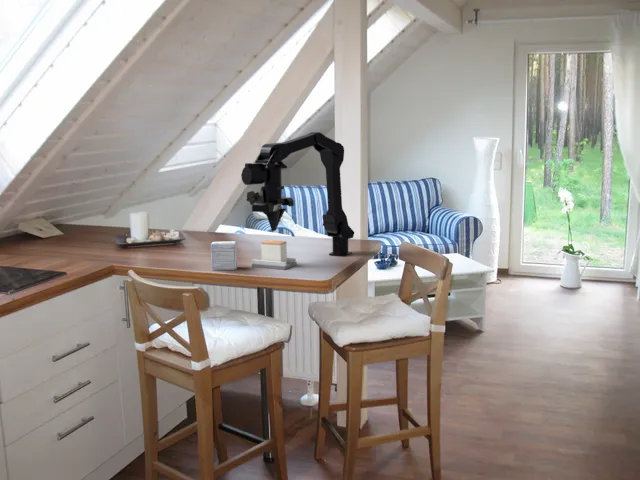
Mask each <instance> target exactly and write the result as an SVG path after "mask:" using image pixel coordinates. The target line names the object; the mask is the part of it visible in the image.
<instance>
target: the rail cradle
mask: <svg viewBox="0 0 640 480" xmlns="http://www.w3.org/2000/svg"><path fill="white" fill-rule="evenodd" d="M296 260H297V258H295V257H287V262H277V261H265V260H262V259H252V263H251V267H252V268H258V267H259V269H260V268H261V269H269V268H270V270H283V271H285V270H287V269H290V268H292V267H294V266H296V265H298V263H297V262H298V261H296Z"/></svg>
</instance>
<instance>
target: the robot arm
mask: <svg viewBox="0 0 640 480" xmlns="http://www.w3.org/2000/svg"><path fill="white" fill-rule="evenodd" d="M310 147H313V149H314V150H315V151H316V152H317V153H319V156H320V161H321V162H322V164H323V166H324V168H325V178H326V181H325V182H326V195H327V196H326V197H327V211H326V213H325V214H322V226H323V227H324V231H326V234H327V237H329V238H330V237H331V238H332V239H331V240H332V241H331V243H332V251H331V252H329V253H328V255H329V256H341V257H347V256H349V255H351V254H352V253H353V252H352V251H349V240H350V239H354V235H355V232H354V230H353V229H352V228H351V226H349V225H350V224H349V222H348V216H347V215H346V213H345V211H344V209H343V203H342V202H343V201H342V199H343V198H342V184H341V181H342V180H341V167H342V164H343V162H344V157H345V147H344V145H342V144H341V143H340V142H338V141H335V139H332V138H329V137H328V136H326V135H324V134H323V133H322V132H319V131H318V132H317V131H316V132H315V131H312V132H309V133H307V134H304V135H301V136H298V137H296V138H293V139H289V140H286V141H283V142H273V143H272V142H270V143H265V144H263V145H262V146H261V148H260V151H259V153H258V155H257V157H256V159H255V161H254V162H253V163H252V162H250V163H248V162H246V163H245V164H244V167H243V168H242V172H241V175H240V177H241V181H242V183H243V184H244V185H245V186H248V185H249V186H253V185H262V184H263V185H262V186H261V187H260V191H258V192H255V191H254V190H252V191H247V193H246V199H245V201H247V202H248V203H249V205H250V206H251V212H255V213H263V214H264V215H265V217H267V220H268V223H269V226H270V229H271V231H272V232H275V231H277V229H278V226H279V224H280V221H281V220H282V217H283V216H284V214H285V212H286V210H287V209H286V208H283V206H288V207H293V206H294V199H293V198H292V197H288V196H286V197H285V196H283V190H284V189H285V185H283V184H282V170H283V169H287V168H288V166H287V165H286V164H285V163H284V162H283V161H284V160H285V159H288V157H289V156H290V155H292V154H293V153H296V152H299V151H301V150H304V149H307V148H310Z"/></svg>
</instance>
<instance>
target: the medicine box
mask: <svg viewBox="0 0 640 480" xmlns="http://www.w3.org/2000/svg"><path fill="white" fill-rule="evenodd" d="M237 249H238V248H237V241H233V240H232V241H212V243H211V244H210V255H211V256H210V257H211V260H210V261H211V271H220V270H221V271H223V270H224V271H226V270H228V271H229V270H230V271H231V270H233V271H235V270H236V271H237V269H238V254H237V252H238V250H237Z"/></svg>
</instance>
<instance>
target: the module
mask: <svg viewBox="0 0 640 480" xmlns="http://www.w3.org/2000/svg"><path fill="white" fill-rule="evenodd" d="M260 244H261V245H260V247H261V248H260V249H261V260H265V261H277V262H287V258H288V255H287V254H288V252H287V251H288V250H287V249H288V248H287V245H288V244H287V241H286V240H285V241H284V240H271V239H267V240H264V241H261V242H260Z"/></svg>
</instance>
